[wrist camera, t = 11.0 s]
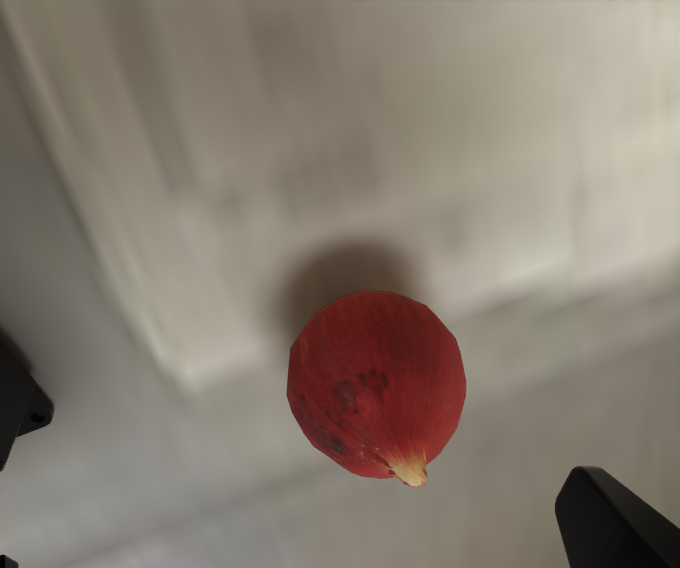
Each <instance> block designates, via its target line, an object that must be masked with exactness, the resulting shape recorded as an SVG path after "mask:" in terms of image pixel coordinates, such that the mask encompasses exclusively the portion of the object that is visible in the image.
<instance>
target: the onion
mask: <svg viewBox="0 0 680 568" xmlns="http://www.w3.org/2000/svg"><path fill="white" fill-rule="evenodd" d="M465 397H466V378H465V373H464V368H463V363H462V358H461V353H460V350H459V347H458V344H457V341H456V338H455V337H454V336H453V335H452V333H451V332H450V331H449V330H448V329H447V328H446V326H445V325H444V324H443V323H442V322H441V321H440V319H439V318H438V317H437V316H436V315H435V314H434V313H433V312H432V311H431V310H430V309H429V308H428V307H427V306H426V305H424V304H421V303H419V302H417V301H414V300H412V299H409V298H407V297H404V296H402V295H399V294H396V293H392V292H380V291H366V290H365V291H361V292H358V293H354V294H350V295H347V296H343V297H339V298H338V299H336V300H335V301H333V302H332V303H330V304H329V305H327V306H326V307H324V308H323V309H321V310H319V311H318V312H316V313H315V314H314V316H313V317H312V319H311V320H310V321H309V323H308V324H307V325H306V327H305V328H304V330H303V331H302V332H301V334H300V335H299V337H298V338H297V339H296V341H295V342H294V344H293V345H292V346H291V348H290V359H289V369H288V380H287V398H288V401H289V404H290V408H291V411H292V413H293V415H294V417H295V419H296V420H297V422H298V424H299V426H300V427H301V429H302V431H303V433H304V434H305V436H306V437H307V438H308V440H309V441H310V442H311V444H312V445H313V446H314V447H315V448H317V449H318V450H320V451H321V452H323V453H324V454H326V455H327V456H328V457H330V458H331V459H332V460H334V461H335V462H336V463H338V464H339V465H340V466H342V467H343V468H345V469H347V470H348V471H350V472H351V473H354V474H357V475H359V476H363V477H371V478H379V479H383V478H393V477H395V478H398V479H399V480H400V481H402V482H403V483H404V484H406V485H408V486H411V487H420V486H422V485H424V484H426V481H427V479H428V475H427V473H426V471H425V467H426V465H427V464H428V463H429V462H431V461H432V460H433V459H434V458H436V457H437V456H438V455H439V454H440V453H441V451H442V450H443V448H444V447H445V445H446V444H447V442H448V441H449V439H450V438H451V436H452V435H453V433H454V432H455V430H456V429H457V426H458V423H459V420H460V416H461V412H462V409H463V405H464V401H465Z"/></svg>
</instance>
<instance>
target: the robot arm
mask: <svg viewBox="0 0 680 568" xmlns="http://www.w3.org/2000/svg"><path fill="white" fill-rule="evenodd" d="M35 412H39V413H42V414H43V415H37V414H35ZM53 414H54V408H53V406H52V405H51V403H50V402H49V401H48V400H47V399H46V397H45V396H44V395H43V394H42V393H41V391H40V390H39V389H38V388H37V386H36V385H35V381H34V380H33V378H32V377H31V376H30V375H29V373H28V372H27V371H26V370H25V369H24V367H23V366H22V365H21V364H20V363H19V361H18V360H17V359H16V358H15V357H14V355H13V354H12V353H11V352H10V350H9V349H8V348H7V347H6V346H5V344H4V343H3V342H2V341H1V340H0V472H1V471H2V470H3V469H4V467H5V465H6V462H7V459H8V457H9V454H10V451H11V449H12V446H13V443H14V441H15V438H16V437H18V436H21V435H23V434H26V433H29V432H32V431H34V430H37V429H40V428H42V427H45V426H47V425H48V424H50V422H51V421H52V418H53ZM555 514H556V518H557V522H558V526H559V529H560V533H561V536H562V540H563V543H564V547H565V551H566V554H567V558H568V561H569V565H570V568H680V529H679V528H678V527H677V526H675V525H674V524H673V523H672V522H670V521H669V520H668V519H666V518H665V517H664V516H663V515H661V514H660V513H659V512H657V511H656V510H655V509H654V508H652V507H651V506H650V505H648V504H647V503H646V502H645V501H643V500H642V499H641V498H639V497H638V496H637V495H636V494H634V493H633V492H632V491H630V490H629V489H628V488H627V487H625V486H624V485H623V484H621V483H620V482H619V481H617V480H616V479H615V478H614V477H612V476H611V475H610V474H608V473H607V472H606V471H605V470H603V469H602V468H599V467H594V466H577V467H575V468H573V469H572V471H571V472H570V474H569V476H568V478H567V479H566V481H565V483H564V485H563V487H562V489H561V490H560V492H559V494H558V496H557V498H556V502H555ZM0 568H18V563H17V562H16V561H14V560H12V559H11V558H9V557H7V556H6V555H0Z"/></svg>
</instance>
